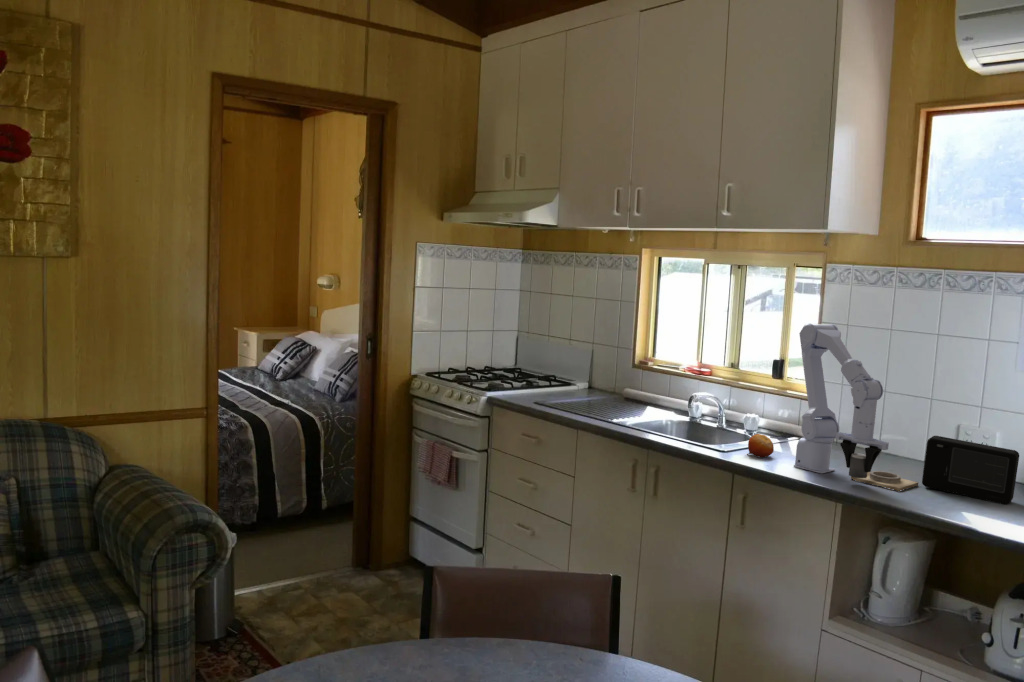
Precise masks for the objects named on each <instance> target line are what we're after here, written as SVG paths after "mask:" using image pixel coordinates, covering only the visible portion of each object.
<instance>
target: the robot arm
mask: <svg viewBox="0 0 1024 682" xmlns="http://www.w3.org/2000/svg"><path fill="white" fill-rule="evenodd" d="M841 337H842V332H841V331H840V330H839V328H838V327H837V325H836V324H834V323H828V324H827V323H825V324H822V323H805V324H804V325H803V327H802V328H801V330H800V332H799V340H800V347H801V358H802V365H803V366H802V367H803V374H804V382H805V388H806V389H805V390H806V396H807V397H806V398H807V405H808V410H807V411H805V412H804V413H803V414H802V415H801V419H802V423H801V433H802V436H803V437H801V438H799V440H798V442H797V444H796V451H795V463H794V464H793V467H795V468H798V469H803V470H807V471H810V472H814V473H817V474H825V473H830V472H833V471H836V469H835V468H834V467H830V464H831V455H832V454H831V453H832V445H833V444H832V443H833V442H835V440H836V441H837V440H838V441H842V442H840V447H841V449H842V452H843V455H844V458H845V465H846V468H848V469H849V467H850V457H851V454H852V453H856V452H855V451H856V448H857V444H858V445H862V446H867V447H865V449H864V451H865V455H866V463H865V472H871V471H872V467H874V463H875V461H876V459H877V458H878V457H879V455H880V454H881V452H882V451H887V450H889V442H886V441H884V440H879V439H877V438H874V432H875V431H874V430H875V423H876V415H877V414H876V413H877V407H878V405H877V404H878V401H879V400H880V399H881V398H882V396H883V393H884V387H883V385H882V382H881V381H880V380H878V379H875V378H874V377H872V376H871V375H870V374H869V372H868V371H867V370H866V368H865V367H864V365H863V363H862V361H861V360H858V359H853V357H852V355H851V354H850V352H849V351H848V349H847V347H846V345H845V344H844V342H843V341H842V338H841ZM828 350H829V352H830V353H831V354H832V356H834V358H835V359H836V360H837V362H839V364H840V365H841V367H840V372H841V374H842V375H843V376H844V378H845V379H846V381H847V383H848V384H849V385H850V386H851V388H850V393H851V396H852V403H853V406H854V407H853V413H852V414H853V417H852V426H851V433H847V432H841V431H840V425H839V422H838V421H837V417H836V413H835V412H833V411H832V410H831V409H830V408H829V406H828V399H827V392H826V391H827V390H826V386H825V377H824V370H823V369H824V368H823V361H822V357H823V354H824V353H826V352H827V351H828Z"/></svg>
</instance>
